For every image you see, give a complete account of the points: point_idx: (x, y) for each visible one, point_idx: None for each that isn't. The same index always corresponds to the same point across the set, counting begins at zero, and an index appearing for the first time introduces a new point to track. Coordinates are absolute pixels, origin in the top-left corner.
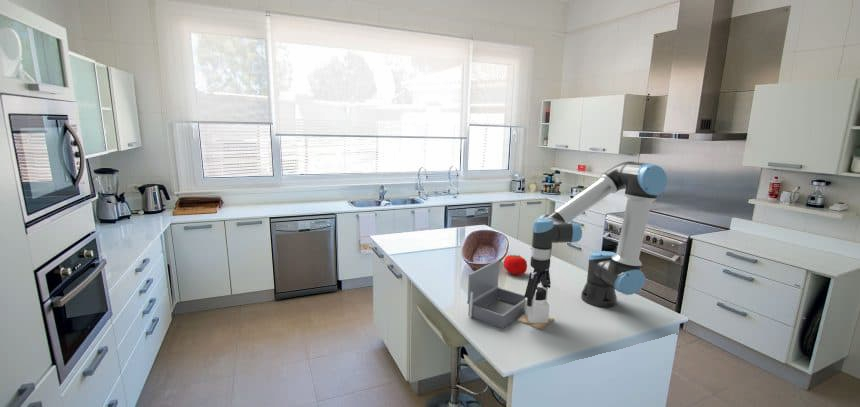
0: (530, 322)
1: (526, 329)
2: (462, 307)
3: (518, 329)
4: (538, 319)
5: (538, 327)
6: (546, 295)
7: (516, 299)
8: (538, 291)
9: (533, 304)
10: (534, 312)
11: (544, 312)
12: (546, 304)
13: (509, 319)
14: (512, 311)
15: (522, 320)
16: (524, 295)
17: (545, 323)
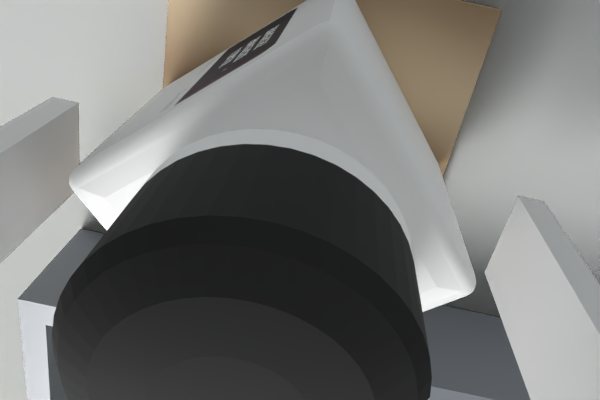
0: (437, 162)
1: (551, 165)
2: None
3: (578, 228)
4: (402, 100)
5: (481, 64)
6: (4, 151)
7: None
8: (374, 393)
9: (591, 288)
10: (440, 186)
11: (376, 64)
12: (339, 82)
13: (492, 338)
14: (451, 375)
15: None
16: (25, 348)
17: (362, 9)
